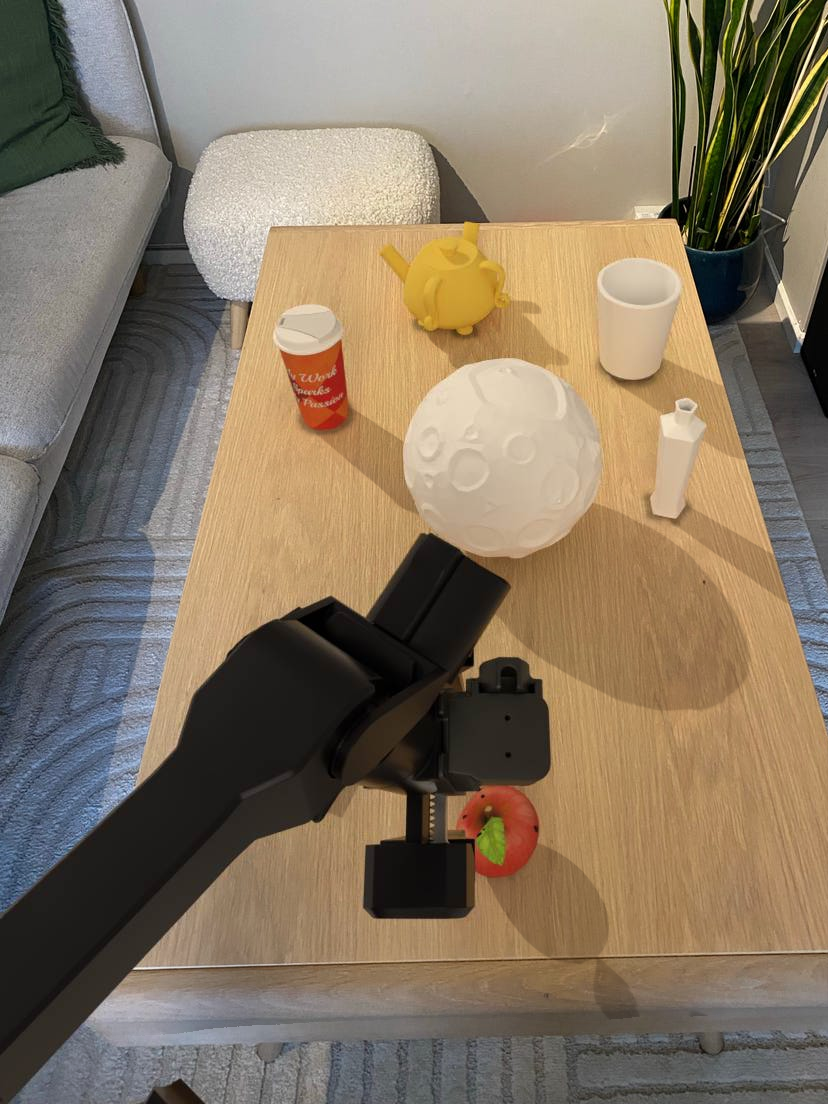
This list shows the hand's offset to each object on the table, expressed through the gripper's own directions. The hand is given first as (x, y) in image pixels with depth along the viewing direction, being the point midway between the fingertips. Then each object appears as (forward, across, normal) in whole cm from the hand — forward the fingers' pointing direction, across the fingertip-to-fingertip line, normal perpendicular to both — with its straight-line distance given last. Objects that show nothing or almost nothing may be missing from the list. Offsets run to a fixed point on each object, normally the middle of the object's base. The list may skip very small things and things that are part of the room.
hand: (458, 762), depth 63 cm
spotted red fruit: (+16, -6, +1) cm, 17 cm away
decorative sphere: (+27, +28, +2) cm, 38 cm away
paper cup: (+27, +44, +24) cm, 57 cm away
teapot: (+37, +63, +12) cm, 74 cm away
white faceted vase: (+31, +29, -15) cm, 45 cm away
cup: (+38, +51, -12) cm, 65 cm away
